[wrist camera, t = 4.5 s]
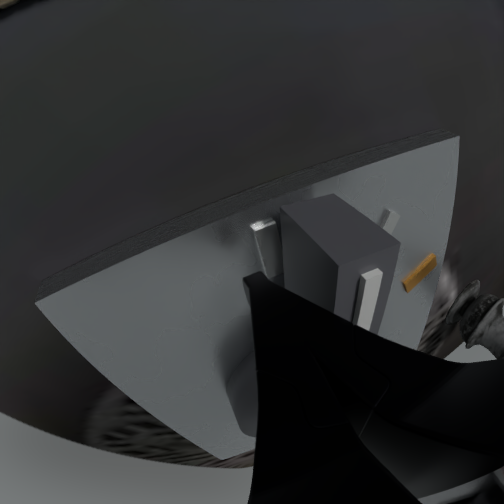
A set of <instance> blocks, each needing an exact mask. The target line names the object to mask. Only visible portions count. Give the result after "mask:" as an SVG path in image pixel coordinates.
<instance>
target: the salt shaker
mask: <svg viewBox="0 0 504 504" xmlns="http://www.w3.org/2000/svg"><path fill="white" fill-rule="evenodd" d="M479 291H480V282H479V281H478V280H474V281H473V282H471V283H470V284H469V285H468V286H467V287H466V288H465V289H464V290H463V291H462V292H461V294H460V295H459V296H458V297H457V299H456V300H455V302H454V303H453V305H452V306H451V308H450V310H449V312H448V314H447V317H446V323H447V324H452V323H455V322H457V321H459V320H460V319H461V318H462V319H461V321H460V334H461V337H462V339H463V341H464V342H465V343H466V348H467V349H469V348H471V347H472V346H473V345H479V344H480V345H482V346H484V347H485V348H487V349H488V350H489V351H490V352H491V353H492V354H493V355H494V356H495V357H496V358H497V359H502V358H504V317H503V315H502V308H503V305H504V299H503V298H502V299H498V298H497V297H496V296H494V295H491V294H484V295H481V296H479V297H478V294H479ZM477 297H478V298H477Z"/></svg>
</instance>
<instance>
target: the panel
mask: <svg viewBox="0 0 504 504" xmlns="http://www.w3.org/2000/svg"><path fill="white" fill-rule="evenodd" d="M458 156H459V136H458V135H456V134H453V133H450V132H448V131H445V130H442V129H438V130H434V131H430V132H426V133H422V134H418V135H415V136H411V137H407V138H404V139H400V140H397V141H393V142H390V143H386V144H383V145H379V146H376V147H373V148H369V149H366V150H363V151H359V152H356V153H353V154H350V155H347V156H343V157H340V158H337V159H334V160H331V161H328V162H325V163H322V164H319V165H316V166H313V167H310V168H307V169H304V170H301V171H298V172H295V173H292V174H290V175H287V176H284V177H281V178H278V179H275V180H273V181H270V182H267V183H264V184H262V185H259V186H256V187H254V188H251V189H248V190H246V191H243V192H240V193H238V194H235V195H233V196H230V197H227V198H225V199H222V200H220V201H217V202H215V203H212V204H210V205H207V206H205V207H202V208H200V209H197V210H195V211H192V212H190V213H187V214H185V215H183V216H180V217H178V218H176V219H173V220H171V221H168V222H166V223H164V224H161V225H159V226H157V227H155V228H152V229H150V230H148V231H145V232H143V233H141V234H139V235H136V236H134V237H132V238H130V239H128V240H125V241H123V242H121V243H119V244H117V245H114V246H112V247H110V248H108V249H106V250H104V251H102V252H100V253H97V254H95V255H93V256H91V257H89V258H87V259H85V260H83V261H81V262H79V263H77V264H75V265H73V266H71V267H69V268H67V269H65V270H63V271H61V272H59V273H57V274H55V275H53V276H51V277H49V278H47V279H45V280H43V281H42V282H41V285H40V288H39V291H38V294H37V297H36V300H35V304H36V305H37V307H38V308H39V309H40V310H41V311H42V313H43V314H44V315H45V316H46V317H47V318H48V320H49V321H50V322H51V323H52V324H53V325H54V326H55V327H56V329H57V330H58V331H59V332H60V333H61V334H62V335H63V336H64V337H65V338H66V339H67V340H68V341H69V342H70V343H71V344H72V345H73V346H74V348H75V349H76V350H77V351H78V352H79V353H80V354H81V355H83V356H84V357H85V358H86V359H87V360H88V361H89V362H90V363H91V364H92V365H93V366H94V367H95V368H96V369H97V370H98V371H99V372H101V373H102V374H103V375H104V376H105V377H106V378H107V379H108V380H110V381H111V382H112V383H113V384H114V385H115V386H116V387H118V388H119V389H120V390H121V391H122V392H124V393H125V394H126V395H127V396H128V397H130V398H131V399H132V400H133V401H135V402H136V403H137V404H138V405H140V406H141V407H142V408H144V409H145V410H146V411H148V412H149V413H150V414H152V415H153V416H154V417H156V418H157V419H158V420H160V421H161V422H163V423H164V424H165V425H167V426H168V427H170V428H171V429H173V430H174V431H176V432H177V433H179V434H180V435H182V436H183V437H185V438H186V439H188V440H189V441H191V442H192V443H194V444H196V445H197V446H199V447H200V448H202V449H204V450H205V451H207V452H209V453H210V454H212V455H214V456H215V457H217V458H219V459H221V460H223V459H226V458H229V457H232V456H235V455H238V454H241V453H244V452H247V451H249V450H252V449H255V441H256V438H255V437H251V436H248V435H245V434H244V433H243V432H242V431H241V430H240V428H239V425H238V423H237V420H236V418H235V415H234V412H233V410H232V407H231V404H230V402H229V399H228V396H227V392H226V391H227V383H228V380H229V378H230V376H231V374H232V372H233V371H234V369H235V368H236V367H237V365H238V364H239V363H240V362H241V361H242V360H243V359H244V358H245V357H246V356H247V355H248V354H249V353H250V352H251V351H253V350H254V347H253V336H252V324H251V312H250V306H249V304H248V301H247V298H246V294H245V290H244V287H243V283H242V278H243V277H245V276H248V275H250V274H253V273H256V272H258V271H261V272H263V273H264V275H265V276H266V277H267V278H268V279H269V280H270V281H272V282H274V283H276V284H278V285H280V286H282V287H284V288H285V284H284V266H283V249H282V233H281V219H280V206H284V205H288V204H292V203H296V202H300V201H304V200H308V199H312V198H316V197H320V196H325V195H329V194H333V193H334V194H335V195H337V196H338V197H340V198H341V199H342V200H344V201H345V202H347V203H348V204H350V205H351V206H352V207H354V208H355V209H357V210H358V211H359V212H361V213H362V214H364V215H365V216H366V217H368V218H369V219H370V220H372V221H373V222H374V223H376V224H377V225H378V226H380V227H381V228H382V229H384V230H385V231H386V232H388V233H389V234H390V235H392V236H393V237H394V238H396V239H397V240H398V241H399V242H401V245H400V250H399V254H398V259H397V264H396V268H395V272H394V277H393V281H392V285H391V289H390V293H389V297H388V300H387V304H386V308H385V311H384V315H383V318H382V322H381V325H380V328H379V331H378V335H379V336H381V337H383V338H386V339H388V340H391V341H393V342H396V343H398V344H401V345H404V346H406V347H409V348H412V349H415V350H417V347H418V344H419V342H420V339H421V336H422V333H423V330H424V327H425V324H426V321H427V318H428V315H429V312H430V309H431V306H432V302H433V299H434V295H435V292H436V288H437V284H438V281H439V277H440V273H441V269H442V264H443V260H444V256H445V251H446V246H447V241H448V236H449V231H450V225H451V219H452V212H453V206H454V198H455V190H456V181H457V170H458Z"/></svg>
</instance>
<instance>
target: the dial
mask: <svg viewBox="0 0 504 504" xmlns="http://www.w3.org/2000/svg"><path fill="white" fill-rule="evenodd" d="M280 219H281V233H282V249H283V266H284V284H285V288H286V289H287V290H289V291H291V292H293V293H295V294H297V295H299V296H301V297H303V298H305V299H307V300H309V301H311V302H313V303H315V304H317V305H319V306H320V307H322V308H324V309H326V310H328V311H330V312H332V313H334V314H336V315H338V316H340V317H342V318H344V319H346V320H348V321H350V322H352V323H353V324H354V325H355V324H356V325H358V326H360V327H362V328H364V329H366V330H368V331H370V332H372V333H375V334H377V335H378V331H379V328H380V325H381V322H382V318H383V315H384V311H385V308H386V304H387V300H388V297H389V293H390V289H391V285H392V281H393V277H394V272H395V268H396V264H397V259H398V254H399V250H400V245H401V242H399V241H398V240H397V239H396V238H394V237H393V236H392V235H390V234H389V233H388V232H386V231H385V230H384V229H382V228H381V227H380V226H378V225H377V224H376V223H374V222H373V221H372V220H370V219H369V218H368V217H366V216H365V215H364V214H362V213H361V212H359V211H358V210H357V209H355V208H354V207H352V206H351V205H350V204H348V203H347V202H345V201H344V200H342V199H341V198H340V197H338V196H337V195H335V194H334V193H333V194H329V195H325V196H320V197H316V198H312V199H308V200H304V201H300V202H296V203H292V204H288V205H284V206H280ZM226 392H227V396H228V399H229V402H230V404H231V407H232V410H233V412H234V415H235V418H236V420H237V423H238V425H239V428H240V430H241V431H242V432H243V433H244V434H245V435H248V436H251V437H255V438H256V428H257V405H258V404H257V384H256V370H255V359H254V350H253V351H251V352H250V353H249V354H248V355H247V356H246V357H245V358H244V359H243V360H242V361H241V362H240V363H239V364H238V365H237V367H236V368H235V369H234V371H233V372H232V374H231V376H230V378H229V380H228V383H227V391H226Z"/></svg>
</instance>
